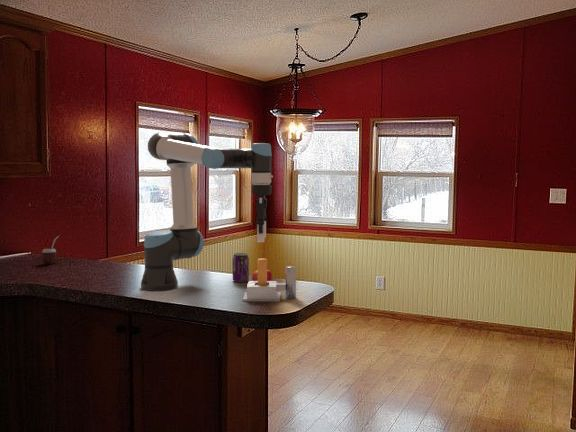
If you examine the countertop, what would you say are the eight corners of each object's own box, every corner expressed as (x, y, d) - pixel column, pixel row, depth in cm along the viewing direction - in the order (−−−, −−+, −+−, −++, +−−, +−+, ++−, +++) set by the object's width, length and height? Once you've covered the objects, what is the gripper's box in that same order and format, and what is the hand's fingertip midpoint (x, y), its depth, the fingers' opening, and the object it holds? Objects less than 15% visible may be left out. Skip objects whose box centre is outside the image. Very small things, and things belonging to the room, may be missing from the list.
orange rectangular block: (257, 296, 230) (257, 260, 228) (257, 294, 233) (257, 258, 232) (266, 296, 229) (266, 260, 228) (267, 294, 233) (267, 258, 232)
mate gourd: (40, 264, 310) (38, 235, 309) (55, 262, 315) (54, 234, 314) (45, 266, 304) (44, 236, 303) (61, 264, 310) (60, 235, 308)
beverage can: (246, 283, 260) (246, 255, 259) (230, 282, 262) (230, 255, 260) (250, 279, 267) (250, 253, 266) (235, 279, 268) (235, 252, 267)
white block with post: (242, 301, 225) (242, 269, 224) (245, 294, 237) (244, 264, 236) (296, 301, 225) (296, 269, 224) (295, 294, 237) (295, 264, 236)
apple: (264, 290, 245) (264, 266, 244) (247, 288, 249) (247, 264, 248) (275, 287, 252) (275, 263, 251) (259, 285, 256) (259, 261, 255)
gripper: (270, 185, 215) (270, 244, 217) (272, 183, 240) (272, 235, 242) (249, 185, 215) (249, 244, 217) (253, 183, 240) (253, 235, 242)
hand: (261, 239), depth 229 cm, fingers open, 13 cm apart
